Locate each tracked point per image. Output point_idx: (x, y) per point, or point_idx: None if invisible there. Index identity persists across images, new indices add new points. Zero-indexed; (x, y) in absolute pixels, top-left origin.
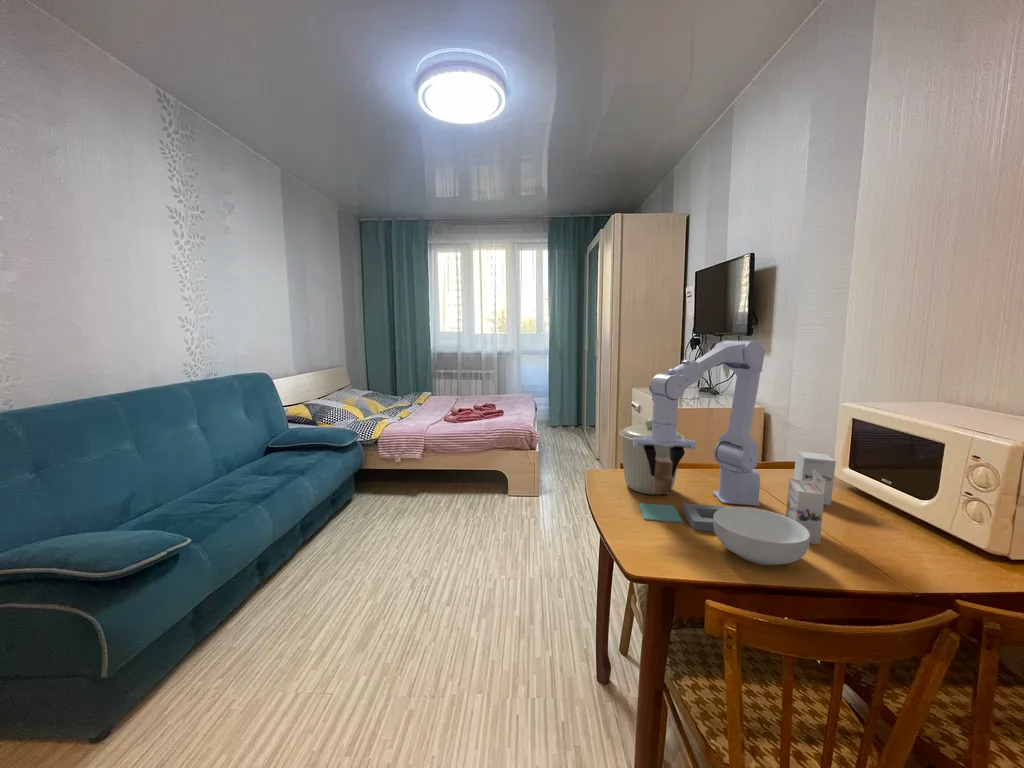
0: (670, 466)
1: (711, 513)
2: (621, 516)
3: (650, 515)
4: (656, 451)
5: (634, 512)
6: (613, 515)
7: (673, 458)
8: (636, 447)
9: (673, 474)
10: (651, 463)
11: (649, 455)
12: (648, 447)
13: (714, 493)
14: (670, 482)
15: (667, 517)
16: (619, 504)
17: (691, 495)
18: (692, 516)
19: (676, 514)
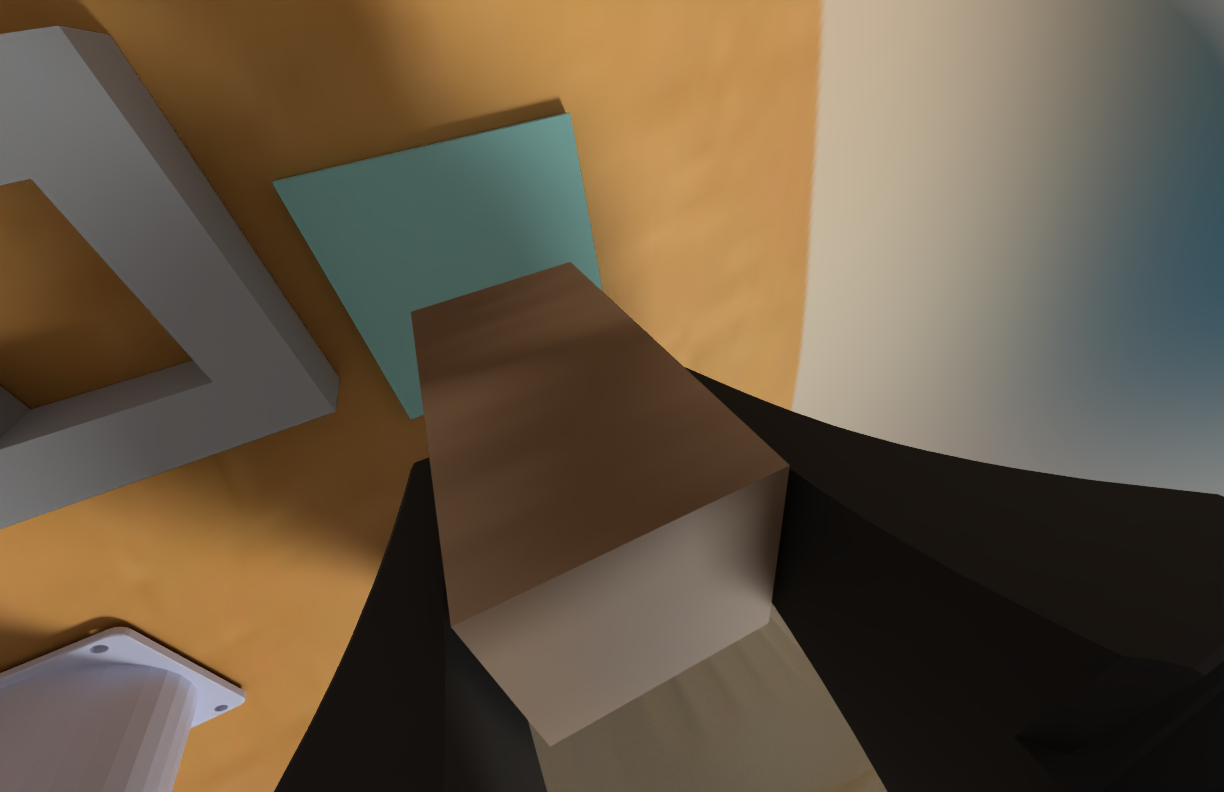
0: (484, 534)
1: (68, 411)
2: (705, 110)
3: (532, 186)
4: (671, 769)
5: (629, 217)
6: (748, 106)
7: (459, 771)
8: (828, 707)
9: (414, 482)
10: (815, 432)
11: (1058, 493)
12: (1205, 726)
13: (225, 685)
14: (433, 368)
15: (409, 201)
16: (703, 293)
17: (351, 600)
18: (141, 168)
19: (358, 292)
